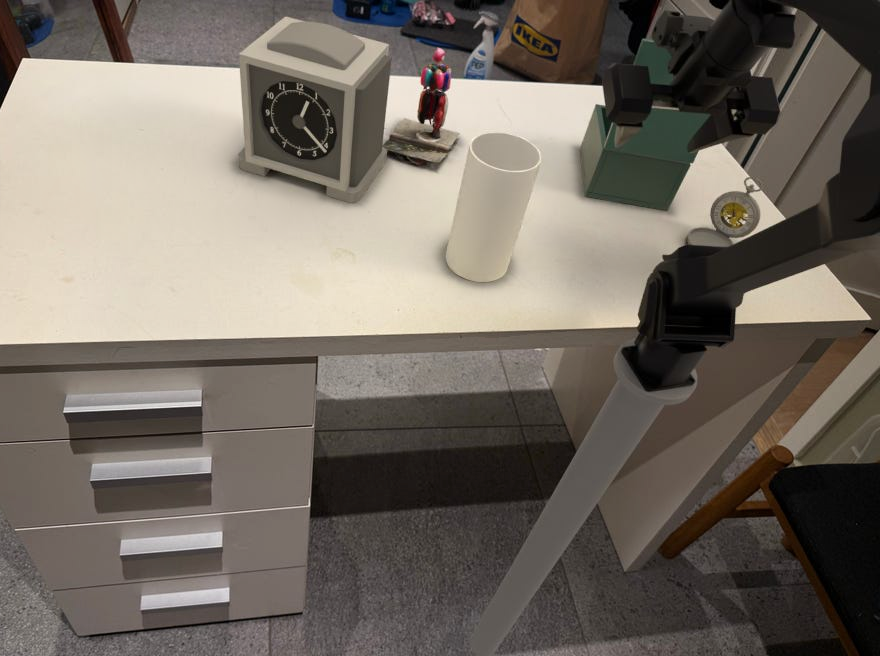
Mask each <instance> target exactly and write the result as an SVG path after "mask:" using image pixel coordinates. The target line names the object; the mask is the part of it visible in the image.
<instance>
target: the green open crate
mask: <svg viewBox="0 0 880 656" xmlns="http://www.w3.org/2000/svg"><path fill="white" fill-rule="evenodd" d="M611 124H612V122H611V121H610V120H609V119H608V118H607V115H606V107H605V104H604V105H603V104H598V103H595V105H594V108H593V111H592V113H591V117H590V119H589V122H588V125H587V128H586V131H585V132H584V136H583V139H582V142H581V145H580V147H579V155H580V163H581V171H582V172H581V173H582V183H583V190H584V191H583V192H584V197H586V198H592V199H597V200H602V201H603V200H604V201H609V202H613V203H614V202H615V203H620V204H625V205H633V206H637V207H644V208H648V209H655V210H659V211H660V210H661V211H669V209H670V207H671V205H672V203H673V201H674V199H675V198H676V195H677V193H678V191H679V189H680V187H681V185H682V184H683V182H684V180H685V178H686V175H687V173H688V171H689V170H690V168H691V163H686V162H681V161H675V160H669V159H664V158H658V157H652V156H646V155H641V154H635V153H629V152H623V151H618V150H612V149H606V148H604V144H605V141H606V138H607V136H608V133H609V130H610V127H611Z"/></svg>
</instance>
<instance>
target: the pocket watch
mask: <svg viewBox="0 0 880 656" xmlns="http://www.w3.org/2000/svg"><path fill="white" fill-rule="evenodd" d="M751 179H752V180H755V181H757V182H758V183H759V184H760V188H758V189H755V188H754V187H755V184H749V185H748V184H747V181H748V180H751ZM743 184H744V187H745V190H746V191H745V192H744V191H740V190H731V191H727V192H723V193H722V194H721V195H719V196H718V197H717V198H716V199H714V201H713V202H712V205H711V207H710V212H709V213H710V214H709V215H710V221H711V223H712V226H713V227H714V229H713V228H709V227H695V228H693V229H691V230H690V231H688V234H687V236H686V241H687V245H704V246H722V247H729V246H731V245H733V244H734V242H733V241H732V240H731V239H739V238H744V237H746V236H747V237H748V236H749V235H750V234H751V233H752V232H754V231H755V230H756V229H757V227H758V225H759V223H760V220H761V209H760V205H759V204H758V202H757V200H756V199H755V198H754V197H753V196H752V195H750V194H753V193H757V192H761V191H762V190H764V183H763V182H762V181H761V180H760V179H759V178H757V177H755V176H754V177H753V176H748V177H746V178H745V179H744V180H743ZM746 215H747V216H746ZM742 222H745V223H744V224H743V223H742ZM730 238H731V239H730Z"/></svg>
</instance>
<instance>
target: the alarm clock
mask: <svg viewBox="0 0 880 656" xmlns="http://www.w3.org/2000/svg"><path fill="white" fill-rule="evenodd" d="M389 47H390V43H386V42H382V41H378V40H375V39H371V38H367V37H363V36H359V35H356V34H353V33H350V32H348V31H345V30H343V29H342V28H339V27H336V26H334V25H331V24H328V23H322V22H317V21H304V20H301V19H297V18H293V17H290V16H284V17H283V18H281V19H280V20H279V21H278V22H276V23H275V24H274V25H273V26H271V28H269V29H268V30H267V31H265V32H264V33H263V34H261V35H260V36H259V37H258V38H257V39H255V40H254V41H253V42H251V43H250V44H249V45H248V46H247V47H245V48H244V49H243V50H242V51H240V52H239V53H238V59H239V60H238V63H239V75H240V76H239V79H240V93H241V109H242V123H243V125H242V126H243V140H244V147H243V149H241V150H240V152H238V153H237V159H238V168H239V169H240V170H242V171H245V172H247V173H252V174H255V175H258V176H260V177H266V175H267V174H268V173H269V172H270V171H271V170H273V171H277V172H279V173H283V174H286V175H289V176H293V177H297V178H300V179H303V180H306V181H310V182H313V183H317V184H319V185H323V186H326V192H325V196H327V197H329V198H332V199H335V200H340V201H343V202H346V203H348V204H349V203H350V204H352V203H353V204H355V203H357V202H360V201H361V199H362V198H363V196H364V195H365V194H366V192H367V190H368V189H369V187H370V186H371V185H372V184H373V182H374V180H375V178H376V177H377V176H378V174H379V173H380V171H381V170H382V168H383V167H384V166H385V164H386V162H387V158H388V151H387V150H386V149H385V148H384V147H382V145H384V143H383V142H384V133H385V124H386V115H387V107H388V97H389V96H388V95H389V89H390V88H389V87H390V79H391V69H392V59H393V56H390V55H389Z"/></svg>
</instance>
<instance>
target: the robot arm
mask: <svg viewBox="0 0 880 656" xmlns="http://www.w3.org/2000/svg"><path fill="white" fill-rule="evenodd" d="M708 3H709V4H710V5H711V6H712V7H714V8H715V9H718V10H720V11H719V13H718V15H717V16H716V18H715V19H713V18H709V17H706V16H697V15H687V14H681V12H680V11H675V10H666V9H665V10H664V11H663V12H662V13H661V15H660V16H659V17H658V19H657V20H656V22H655V24H654V26H653V29H652V31H651V40H653V41H654V43H655V44H656V46H657V47H659V48H666V50H667V51H668V53H669V54H670V56H671V60H670V61H669V62H668V64H667V69H668V74H673V79H672V80H671V82H670V85H662V84H651V82H650V76H649V70H648V66H639V65H633V64H628V63H627V64H626V63H619V62H618V63H617V62H613V63H611V64H610V66H609V67H608V68H607V69H606V71H605V72H604V74H603V76H602V77H601V86H602V92H603V100H604V106H605V107H606V115H607V118H608V119H609V120H610V121H611V122H612V123H615V124H616V125H617V127H616V133H615V139H614V142H615V147H617V148H619V147H620V146H622V145H623V144H625V143H626V142H627V141H628V140H629V139H630V138H631V137H632V136H633V135H634V134H636V133H637V132H638V131H639V130H640V129H641V128H642V127H643V125H642V121H645V120H646V119H647V117H648V116H649V115H650V113H651V109H652V108H660V109H672V110H679V112H688V113H700V114H711V115H710V116H709V118H708V119H707V120H706V121H705V122H704V124H703V125H702V126H701V127H700V128H699V130H698V131H697V132H696V133H695V134H694V136H693V137H692V139H691V140H690V142H689V143H688V145H687V151H688V153H693V152H696V151H698V152H699V151H702V150H705V149H708V148H711V147H714V146H718V145H721V144H724V143H729V142H732V141H736V140H740V139H743V138H751V137H753V136H754V135H764V136H766V134H767V133H768V132H769V131H770V130H771V129H772V128H773V127H774V126H776V125H777V123H779V120H780V117H781V114H782V113H781V112H782V111H781V106H780V103H779V99H778V94H777V90H776V87H775V82H774V80H773V77H769V76H757V75H752V72H751V70H752V69H753V68H754V66H755V65H756V64H758V62H759V61H760V60H761V58H762V57H763V56H764V55H765V54H766V53H767V51H768V50H769V49H770V48H771V49H778V50H779V49H781V50H791V49H792V48H793V46H794V42H795V39H796V30H795V22H796V19H797V15H796V14H794V13H792V9H796V10H799V11H801V12H803V13H805V15H807V16H808V17H809V18H810V19H811V20H812V21H813V22H814V23H815V24H816V25H818V26H819V27H820V28H821V29H822V30H823V31H824V32H825V33H826V34H827V35H828V36H829V37H830V38H831V39H832V40H834V42H835V43H837V44H838V45H839V46H840V47H841V49H843V50H844V51H845V52H846V53H847V54H849V56H850V57H851V58H852V59H854V61H856V63H858V64H859V65H860V66H861V67H862V68H863V69H864V70H865V71H866V72H867V73H869V75H870V84H869V93H868V95H869V96H868V98H867V99H866V102H865V104H864V105H863V106H862V108H861V110H860V111H859V113H858V114H857V116H856V118H855V119H854V121H853V123H852V124H851V125H850V127H849V129H848V130H847V132H846V133H845V135H844V136H843V139H842V143H841V152H840V160H839V161H840V163H839V172H837V173H836V174H835V175H833V176H832V177H831V178H830V179H829V180H827V182H825V186H824V188H823V191H822V194H821V196H820V199H819V201H818V202H817V203H815V204H814V205H812V206H810V207H808V208H806V209H803V210H801V211H799V212H798V213H797V212H796V213H795V214H793V215H792V216H789V217H787V218H785V219H782V220H781V221H779V222H776V223H775V224H773V225H770V226H768V227H767V228H764V229H762V230H761V231H757V232H756V233H754V234H752V235H750V236H747V237H746V238H744V239H742V240H740V241H737V242H736V243H735V242H734V243H733V245H731V246H729V247H722V246H704V245H689V244H684V245H681V246H679V247H677V248H676V249H675V250H674V251H673V252H672V253H670V254H662V255H661V258H662V260H663V261H660V262H659V263H658V264H657V265H656V266H655V267H654V269H653V270H652V272H651V273H650V274H649V275H648V277H647V280H646V283H645V286H644V290H643V293H642V297H641V300H640V304H639V307H638V311H637V317H638V320H639V323H638V325H637V326H636V330H637V332H638V334H637V337H635V338H636V340H635V342H634V344H635V346H627V347H623V348H622V350H621V353H622V354H623V356H624V358H625V359H626V361H627V363H628V364H629V366H630V367H631V369H632V371H633V372H634V374H635V375H636V377H637V379H638V380H639V382H640V383H641V385H642V387H643V388H644V390H645V391H647V392H653V391H660V390H667V389H673V388H680V387H686V386H692V385H694V383H695V379H694V378H693V376H692V375H691V372H692V371H693V370H694V368H695V369H696V367H697V365H698V364H699V363H700V361H701V359H702V358H703V357H704V355H705V354H706V352H707V351H708V348H707V347H717V348H723V349H724V348H725V347H727V346H728V345H730V344H731V343H733V342H734V340H735V331H736V315H737V308H739V307H740V306H741V305H742V304H743V300H744V296H745V294H746V293H748V292H751V291H754V290H756V289H757V290H758V289H759V288H762V287H766V286H768V285H770V284H773V283H776V282H779V281H782V280H785V279H788V278H791V277H793V276H796V275H797V274H798V275H799V274H801V273H804V272H806V271H810V270H813V269H816V268H818V267H820V266H823V265H827V264H829V263H832V262H834V261H838V260H840V259H843V258H845V257H848V256H851V255H854V254H857V253H860V252H866V251H880V0H708ZM791 8H792V9H791ZM626 351H627V352H626ZM648 387H649V388H648Z"/></svg>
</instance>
